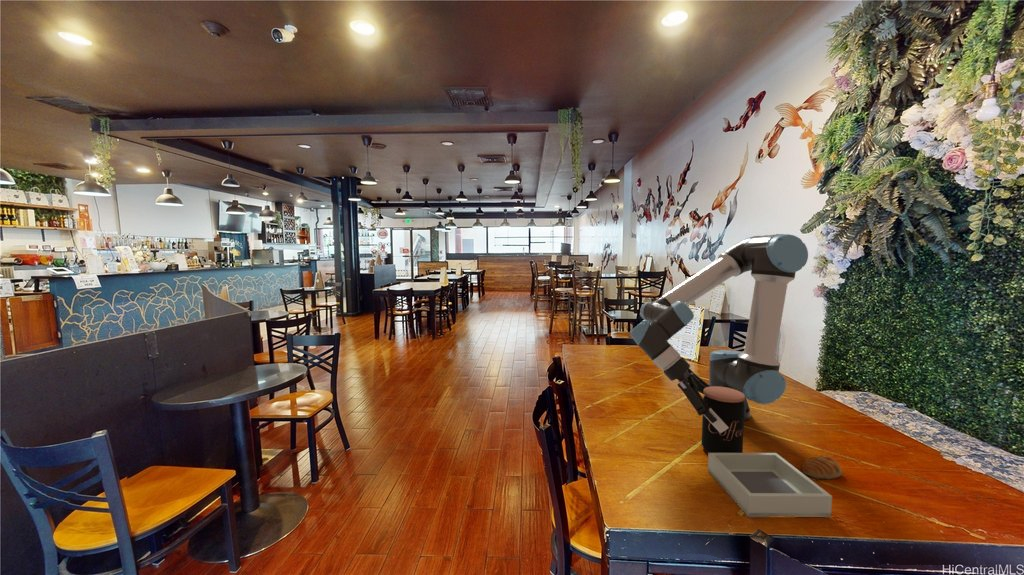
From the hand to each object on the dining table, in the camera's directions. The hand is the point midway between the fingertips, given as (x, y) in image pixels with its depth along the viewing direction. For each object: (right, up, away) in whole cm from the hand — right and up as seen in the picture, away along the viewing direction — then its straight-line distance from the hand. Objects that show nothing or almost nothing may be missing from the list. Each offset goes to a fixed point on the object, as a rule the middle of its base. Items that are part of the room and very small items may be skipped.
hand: (725, 421), depth 109 cm
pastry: (+20, -11, -10) cm, 25 cm away
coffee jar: (0, -10, +2) cm, 10 cm away
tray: (-1, -11, -17) cm, 21 cm away
